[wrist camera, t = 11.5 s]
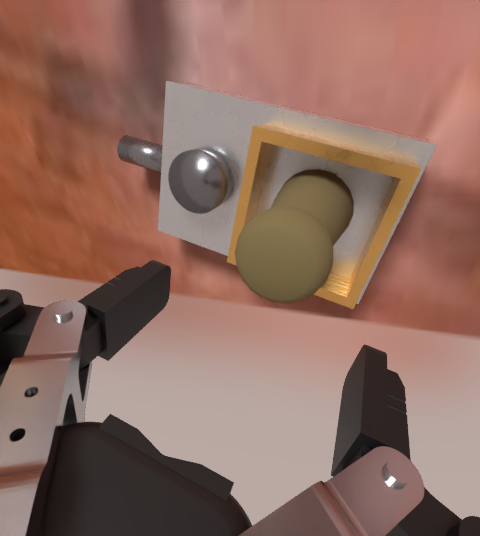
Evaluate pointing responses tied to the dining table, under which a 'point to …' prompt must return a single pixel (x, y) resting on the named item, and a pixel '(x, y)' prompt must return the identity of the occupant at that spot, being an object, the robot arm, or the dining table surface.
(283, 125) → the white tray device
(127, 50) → the dining table surface
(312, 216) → the cork
